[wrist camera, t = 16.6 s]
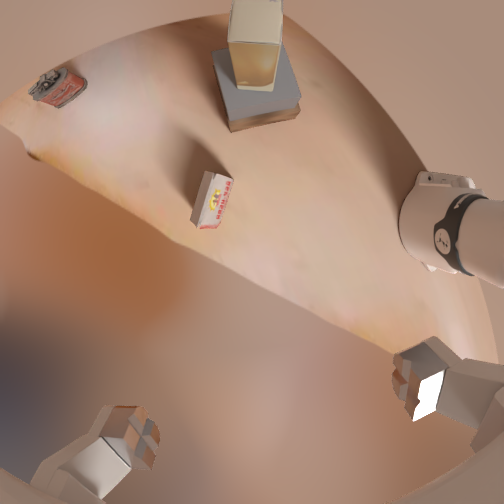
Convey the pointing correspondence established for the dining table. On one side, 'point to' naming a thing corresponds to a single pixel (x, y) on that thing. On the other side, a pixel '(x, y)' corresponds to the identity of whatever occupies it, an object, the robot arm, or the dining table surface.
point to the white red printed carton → (211, 200)
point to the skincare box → (255, 42)
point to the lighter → (57, 87)
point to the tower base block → (259, 116)
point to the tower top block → (251, 100)
